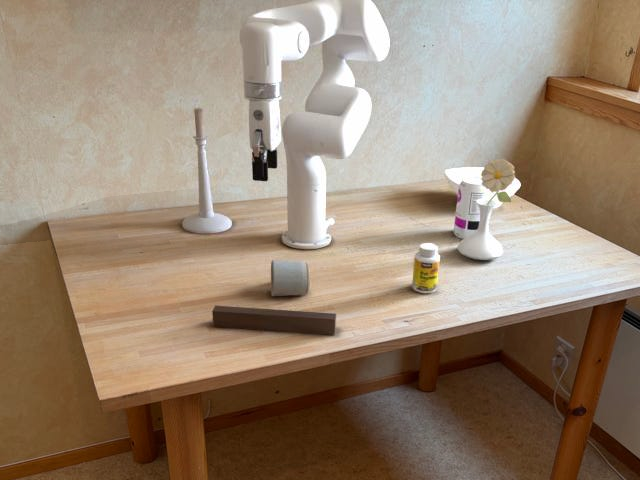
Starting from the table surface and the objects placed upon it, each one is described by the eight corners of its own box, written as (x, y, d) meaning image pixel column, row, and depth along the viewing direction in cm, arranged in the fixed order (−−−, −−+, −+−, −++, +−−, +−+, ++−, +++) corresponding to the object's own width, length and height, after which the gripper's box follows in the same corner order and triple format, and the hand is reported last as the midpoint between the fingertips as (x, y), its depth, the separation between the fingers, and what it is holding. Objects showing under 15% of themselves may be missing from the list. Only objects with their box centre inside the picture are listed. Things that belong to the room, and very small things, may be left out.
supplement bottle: (415, 295, 152) (419, 251, 147) (409, 284, 156) (412, 242, 151) (439, 293, 153) (444, 250, 148) (432, 283, 158) (436, 241, 152)
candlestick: (172, 224, 182) (160, 105, 166) (211, 213, 190) (202, 99, 175) (202, 237, 175) (192, 115, 159) (241, 225, 183) (235, 108, 168)
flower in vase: (447, 252, 174) (458, 152, 161) (479, 243, 180) (492, 146, 167) (484, 270, 165) (499, 166, 152) (516, 260, 172) (533, 160, 159)
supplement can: (449, 237, 183) (456, 182, 175) (458, 228, 189) (464, 174, 182) (479, 243, 180) (487, 187, 173) (487, 233, 187) (494, 178, 179)
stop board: (216, 320, 137) (215, 305, 136) (335, 329, 137) (336, 313, 135) (213, 326, 135) (212, 311, 133) (334, 335, 135) (335, 319, 133)
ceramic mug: (311, 300, 147) (311, 266, 143) (272, 301, 146) (271, 268, 142) (305, 280, 156) (305, 248, 152) (269, 281, 154) (268, 249, 151)
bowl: (434, 195, 213) (437, 167, 209) (496, 193, 218) (500, 166, 214) (457, 218, 196) (461, 188, 192) (524, 215, 201) (529, 186, 197)
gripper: (272, 99, 132) (274, 187, 141) (288, 84, 147) (289, 164, 156) (234, 97, 133) (238, 184, 141) (254, 82, 147) (257, 162, 156)
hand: (265, 174), depth 149 cm, fingers open, 9 cm apart
